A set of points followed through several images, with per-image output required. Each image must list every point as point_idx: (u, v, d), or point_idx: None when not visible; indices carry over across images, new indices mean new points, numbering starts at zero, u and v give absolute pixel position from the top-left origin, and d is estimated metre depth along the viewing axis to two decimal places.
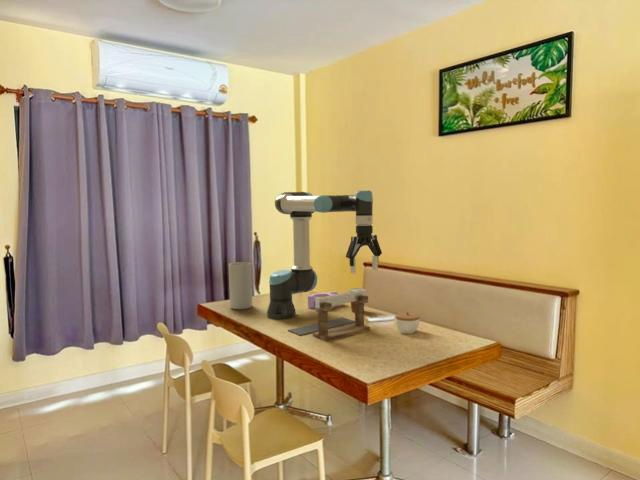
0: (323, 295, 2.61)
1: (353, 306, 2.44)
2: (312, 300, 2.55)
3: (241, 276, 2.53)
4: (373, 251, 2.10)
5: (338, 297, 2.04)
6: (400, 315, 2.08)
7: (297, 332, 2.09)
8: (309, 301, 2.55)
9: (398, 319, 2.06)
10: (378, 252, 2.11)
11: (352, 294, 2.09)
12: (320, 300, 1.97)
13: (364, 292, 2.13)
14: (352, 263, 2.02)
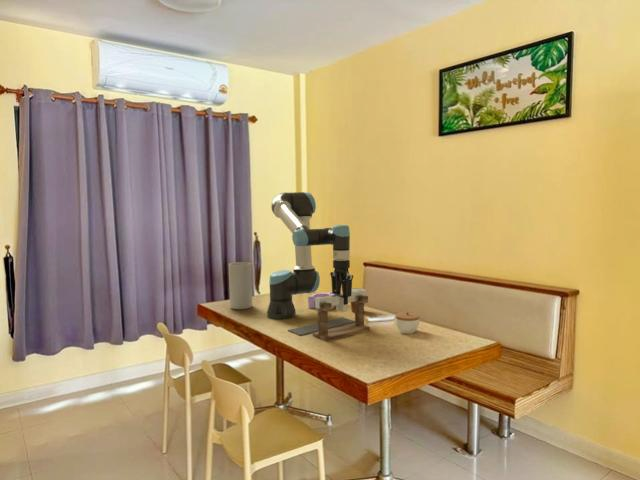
0: (323, 295, 2.62)
1: (353, 306, 2.44)
2: (312, 300, 2.55)
3: (241, 276, 2.53)
4: None
5: (338, 297, 2.04)
6: (400, 315, 2.08)
7: (297, 332, 2.09)
8: (309, 301, 2.55)
9: (398, 319, 2.06)
10: None
11: (352, 294, 2.09)
12: (320, 300, 1.97)
13: (364, 292, 2.13)
14: None
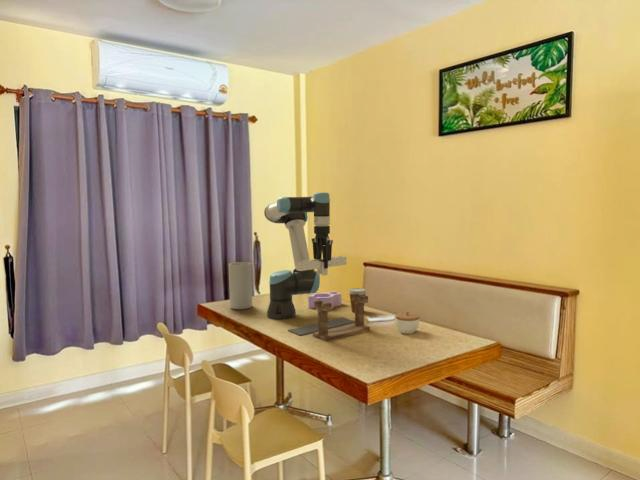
0: (323, 295, 2.62)
1: (353, 306, 2.44)
2: (313, 300, 2.55)
3: (241, 276, 2.53)
4: None
5: (318, 261, 2.13)
6: (400, 315, 2.08)
7: (297, 332, 2.09)
8: (310, 301, 2.55)
9: (398, 319, 2.06)
10: (325, 258, 2.13)
11: (332, 259, 2.18)
12: (301, 263, 2.07)
13: (344, 258, 2.23)
14: None
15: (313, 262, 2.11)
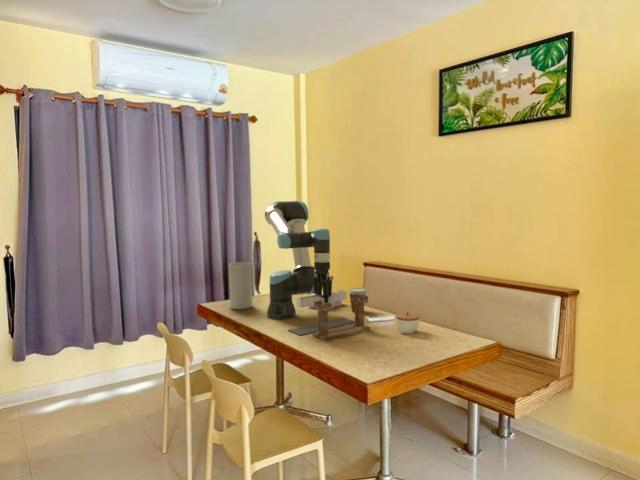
0: None
1: (353, 306, 2.44)
2: None
3: (241, 276, 2.53)
4: None
5: (319, 297, 2.15)
6: (400, 315, 2.08)
7: (297, 332, 2.09)
8: None
9: (398, 319, 2.06)
10: (326, 294, 2.15)
11: (333, 294, 2.20)
12: (301, 300, 2.08)
13: (344, 292, 2.24)
14: None
15: (313, 298, 2.13)
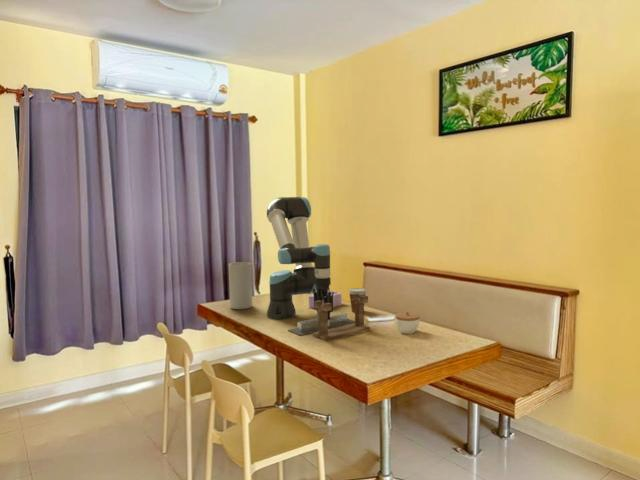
0: None
1: (353, 306, 2.44)
2: (313, 300, 2.55)
3: (241, 276, 2.53)
4: None
5: None
6: (400, 315, 2.08)
7: (297, 332, 2.09)
8: (310, 301, 2.55)
9: (398, 319, 2.06)
10: None
11: (333, 317, 2.21)
12: (302, 324, 2.09)
13: (345, 315, 2.25)
14: (317, 314, 2.21)
15: (314, 322, 2.14)
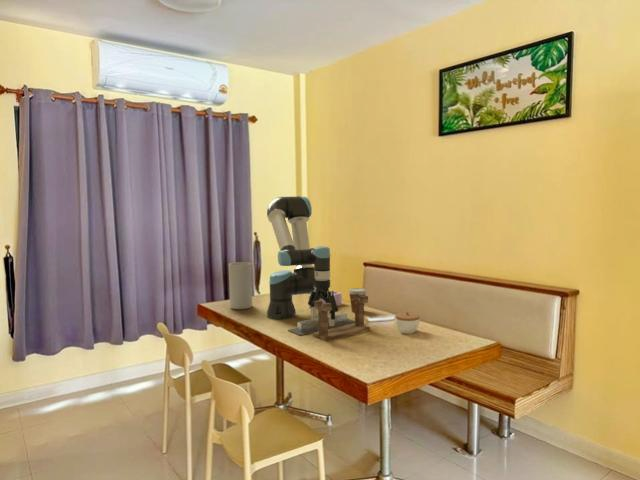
0: None
1: (353, 306, 2.44)
2: None
3: (241, 276, 2.53)
4: None
5: None
6: (400, 315, 2.08)
7: (297, 332, 2.09)
8: None
9: (398, 319, 2.06)
10: None
11: None
12: (302, 324, 2.09)
13: (345, 315, 2.25)
14: None
15: (314, 322, 2.14)
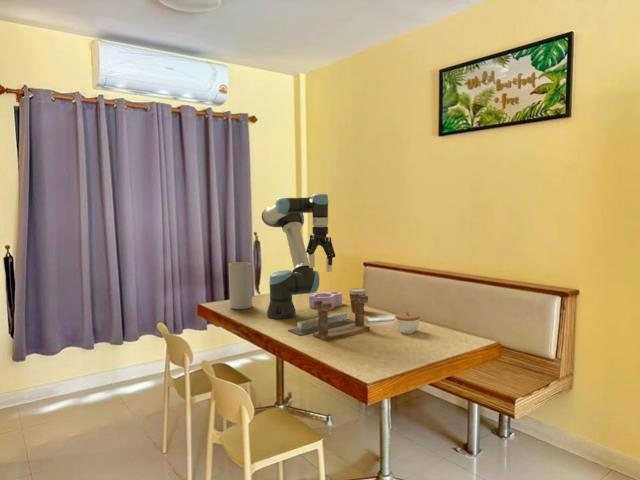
0: (324, 295, 2.62)
1: (353, 306, 2.44)
2: (313, 300, 2.56)
3: (241, 276, 2.53)
4: None
5: None
6: (400, 315, 2.08)
7: (297, 332, 2.09)
8: (311, 301, 2.55)
9: (398, 319, 2.06)
10: (330, 255, 2.14)
11: (333, 317, 2.21)
12: (302, 324, 2.09)
13: (345, 315, 2.25)
14: None
15: (314, 322, 2.14)
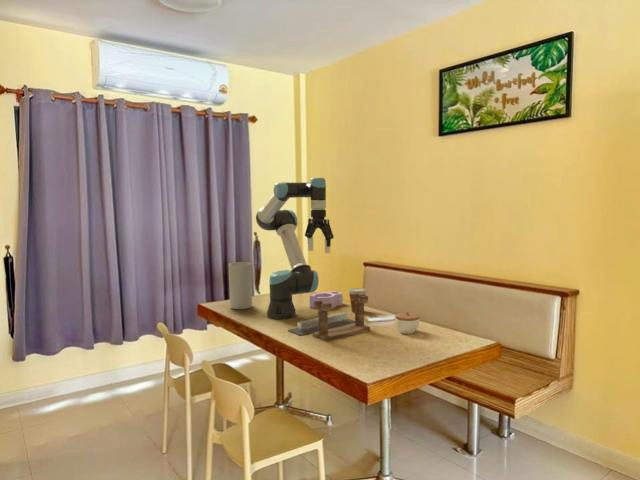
0: (324, 295, 2.62)
1: (353, 306, 2.44)
2: (314, 300, 2.56)
3: (241, 276, 2.53)
4: None
5: None
6: (400, 315, 2.08)
7: (297, 332, 2.09)
8: (311, 301, 2.55)
9: (398, 319, 2.06)
10: (328, 236, 2.20)
11: (333, 317, 2.21)
12: (302, 324, 2.09)
13: (345, 315, 2.25)
14: (308, 241, 2.33)
15: (314, 322, 2.14)
